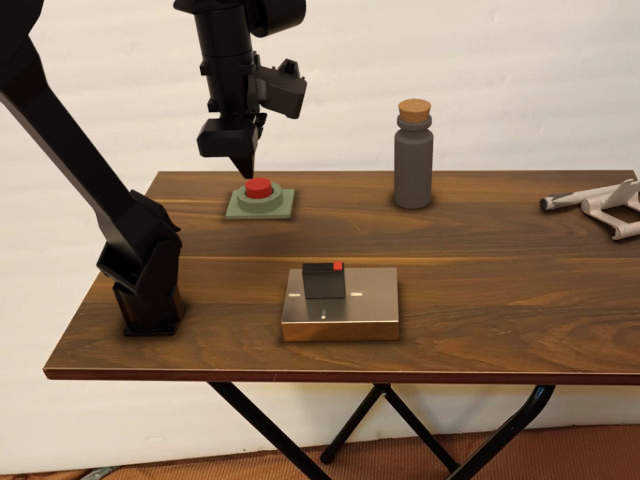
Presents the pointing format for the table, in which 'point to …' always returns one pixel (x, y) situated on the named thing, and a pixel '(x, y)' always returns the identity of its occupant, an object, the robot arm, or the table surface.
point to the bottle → (413, 154)
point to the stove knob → (324, 280)
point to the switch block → (261, 204)
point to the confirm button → (258, 188)
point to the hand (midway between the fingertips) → (249, 177)
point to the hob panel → (344, 308)
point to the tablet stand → (620, 196)
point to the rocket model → (574, 197)
